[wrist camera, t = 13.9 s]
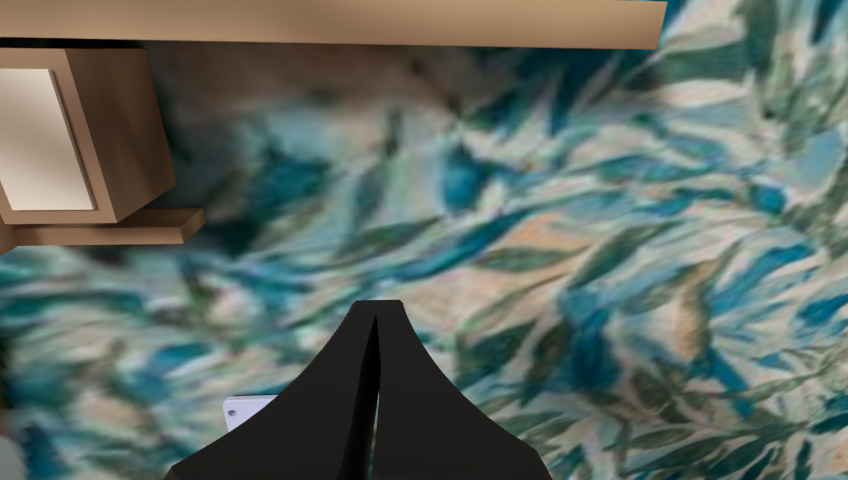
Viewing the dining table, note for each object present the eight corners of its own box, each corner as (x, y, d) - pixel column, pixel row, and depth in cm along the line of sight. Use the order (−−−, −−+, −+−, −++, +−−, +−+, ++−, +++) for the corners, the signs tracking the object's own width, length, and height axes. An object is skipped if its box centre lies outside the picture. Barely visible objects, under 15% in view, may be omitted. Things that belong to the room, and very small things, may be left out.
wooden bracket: (573, 219, 23) (611, 255, 19) (26, 224, 21) (-58, 265, 17) (609, 11, 19) (667, 1, 15) (-64, -5, 17) (-203, -22, 13)
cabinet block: (177, 184, 21) (114, 224, 16) (91, 184, 20) (1, 225, 16) (146, 48, 18) (61, 49, 13) (47, 47, 18) (-75, 47, 13)
